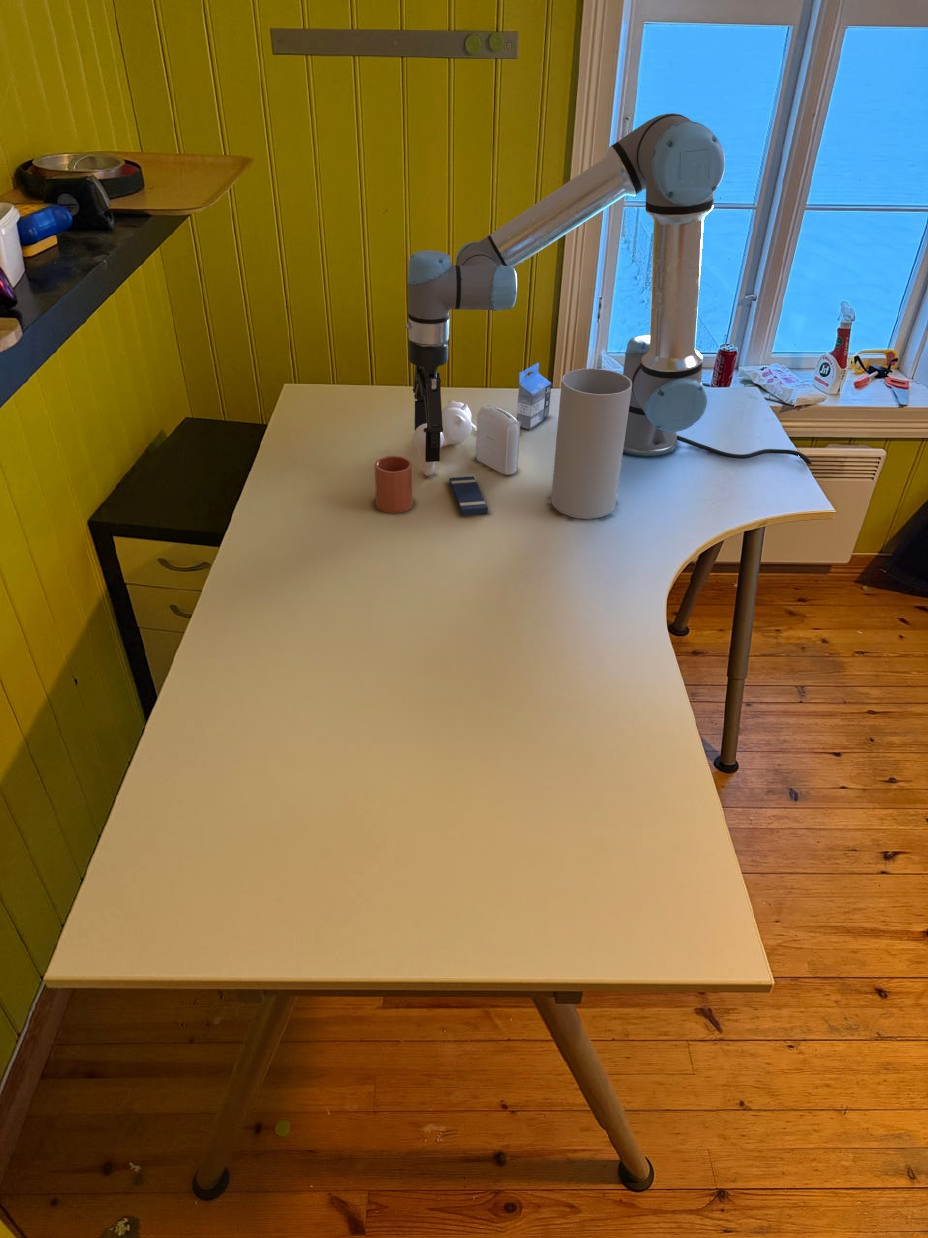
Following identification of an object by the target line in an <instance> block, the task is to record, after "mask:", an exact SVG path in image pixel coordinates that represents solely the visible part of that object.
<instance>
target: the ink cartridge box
mask: <svg viewBox="0 0 928 1238" xmlns="http://www.w3.org/2000/svg"><path fill="white" fill-rule="evenodd" d="M539 366H540V362H537V363H535V364H533V365H531V366H529V367H528V368H526V369H524V370H522V371H520V372H519V373H518V397H517V410H516V420H517V421H518V422H519V425H520V428H523V429H526V430H532V429H533V428H534V427H536V426H537V425H539V424H540V423H542V422H543V421H545V420H546V419H548V418H549V415H550V406H551V405H550V404H551V392H552V382H551V381H550V380H548V379H547V378H545V377H544V376H543V375H542V374H541V373H540V372H539V370H540V369H539ZM529 373H530V374H529Z"/></svg>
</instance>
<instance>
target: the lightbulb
mask: <svg viewBox="0 0 928 1238" xmlns="http://www.w3.org/2000/svg"><path fill="white" fill-rule="evenodd" d="M424 428H427V423H426V424H422V425H420V426H419V427H418V428H417V429H416V430H415V429H414V432H413V433H412V443H413V446H414V448H415V449H416V451H417V453H418V456H419V459H420V460H419V462H420V464H421V473H422V474H424V475H425V476H427V477H428V476H431V475H434V473H435V469H436V468H435V467H436V464H437V462H426V461H425V449H426V432H424V431H423V430H424ZM443 441H444V438H443V433H442V432H440V450H442V449H441V448H442V447H443V446H442V445H443Z"/></svg>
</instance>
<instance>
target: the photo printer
mask: <svg viewBox="0 0 928 1238" xmlns="http://www.w3.org/2000/svg"><path fill="white" fill-rule="evenodd" d="M476 427H477V432H476V441H475V447H476V448H475V458H476V460H477V461H478V462H480V463H482V464H483V465H485V466H487V467H489V468H491V469H492V470H494V471H496V472H498V473H500V474H501V475H506V476H509V475H513V474H515V473H516V472H517V470H518V468H519V453H520V437H521V436H520V433H521V427H520V425H519V422H518V421H517V418H515V417H514V416H513V415H512V414H511V413H509V412H508V411H506V410H504V409H503V408H500V407H497V406H492V405H486V406H483V407H481V408H480V409H479V410H478V412H477V416H476Z"/></svg>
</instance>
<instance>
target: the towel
mask: <svg viewBox="0 0 928 1238" xmlns="http://www.w3.org/2000/svg"><path fill="white" fill-rule="evenodd" d="M448 479H449V480H448V481H449V483H448V484H449V487H450V489H451V492H452V494H453V497H454V500H455V502H456V505H457V507H458V510H459V512H460V515H461V517H465V516H466V517H467V516H478V515H488V513H489V507H488V505H487V503H486V501H485V498H484V496H483V494H482V491H481V489H480V487H479V485H478V482H477V480H476V477H475V476H474V475H470V476H455V477H449V478H448Z"/></svg>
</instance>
